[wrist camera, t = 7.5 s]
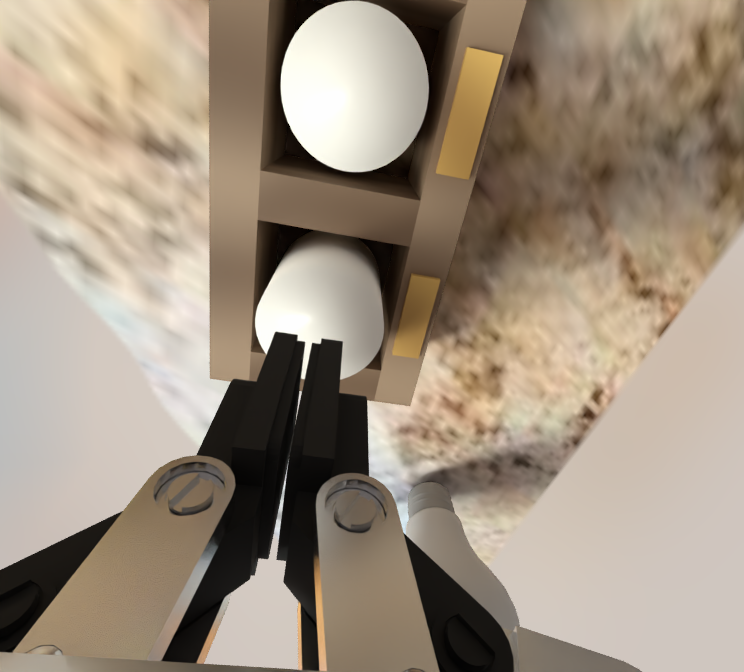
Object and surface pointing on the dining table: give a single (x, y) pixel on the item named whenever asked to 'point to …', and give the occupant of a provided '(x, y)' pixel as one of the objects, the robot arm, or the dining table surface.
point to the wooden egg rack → (344, 178)
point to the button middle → (354, 86)
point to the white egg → (325, 298)
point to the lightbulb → (455, 550)
